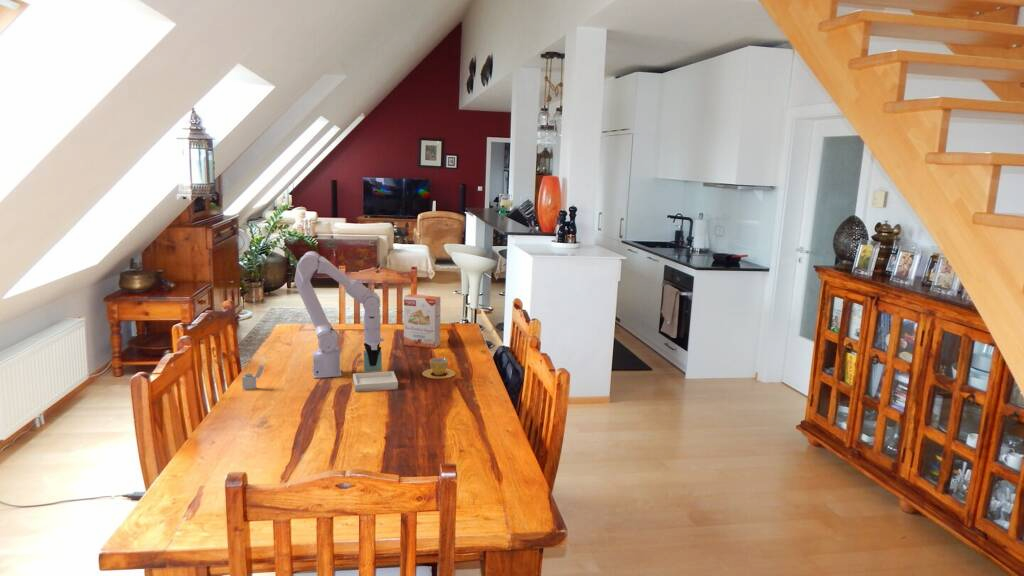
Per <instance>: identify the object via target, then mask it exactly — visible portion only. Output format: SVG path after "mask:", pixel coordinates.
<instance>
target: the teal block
mask: <svg viewBox="0 0 1024 576" xmlns="http://www.w3.org/2000/svg"><path fill="white" fill-rule="evenodd" d="M382 354H383V353H382V349H381V350H380V352H379V355H378V359H377V364H376V366H370V363H369V358H368V353H367V351H366V350H363V370H364V373H372V372H383V370H382V368H383V364H382V359H383V358H382Z"/></svg>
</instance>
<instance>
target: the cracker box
mask: <svg viewBox="0 0 1024 576" xmlns="http://www.w3.org/2000/svg"><path fill="white" fill-rule="evenodd" d="M403 345H404V346H409V347H417V348H425V349H426V348H427V349H433V350H435V349H436V348H438V347H439V346H441V296H435V295H425V294H424V295H423V294H413V293H409V294H408V295H405V296H403Z"/></svg>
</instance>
